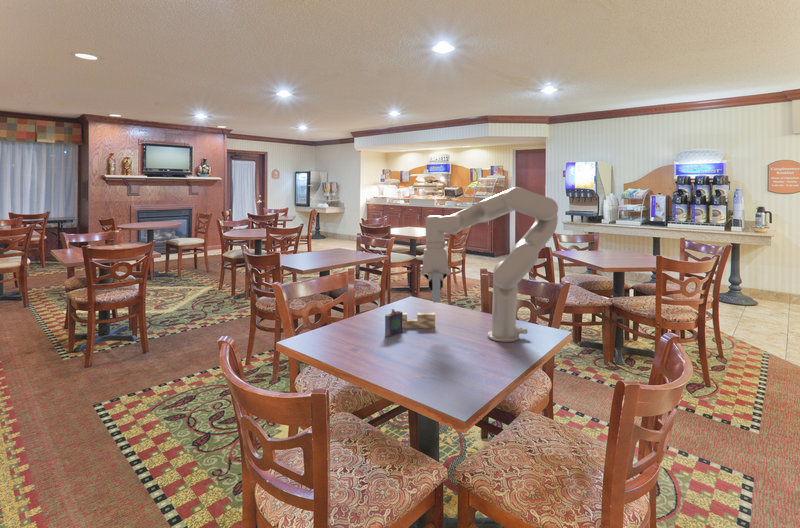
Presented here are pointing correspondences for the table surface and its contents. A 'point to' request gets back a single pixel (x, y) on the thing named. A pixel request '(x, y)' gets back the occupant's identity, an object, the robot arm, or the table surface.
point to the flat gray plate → (436, 287)
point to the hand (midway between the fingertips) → (435, 289)
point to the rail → (419, 321)
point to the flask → (393, 323)
